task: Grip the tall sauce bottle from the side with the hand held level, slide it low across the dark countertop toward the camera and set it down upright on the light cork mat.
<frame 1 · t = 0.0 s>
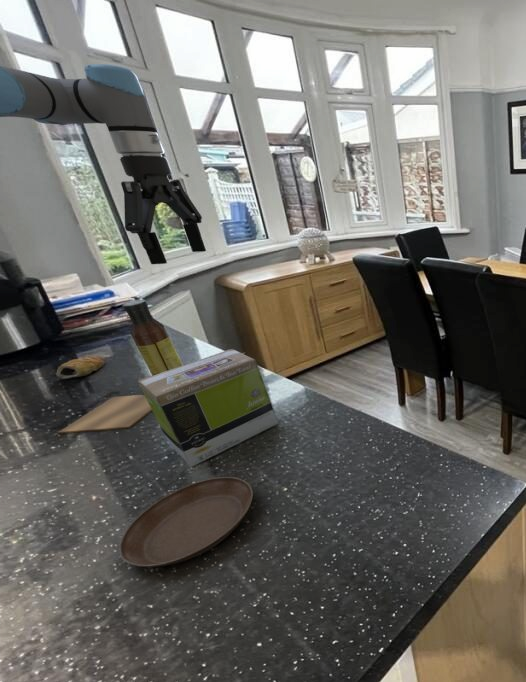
hand: (180, 257, 91), 29 cm above the kitchen counter, tool pointing down, fingers open, 13 cm apart
sauce bottle: (170, 378, 97), on the kitchen counter
cork mat: (121, 412, 84), on the kitchen counter
pastry: (83, 372, 102), on the kitchen counter
saucer: (197, 530, 55), on the kitchen counter
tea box: (227, 437, 75), on the kitchen counter
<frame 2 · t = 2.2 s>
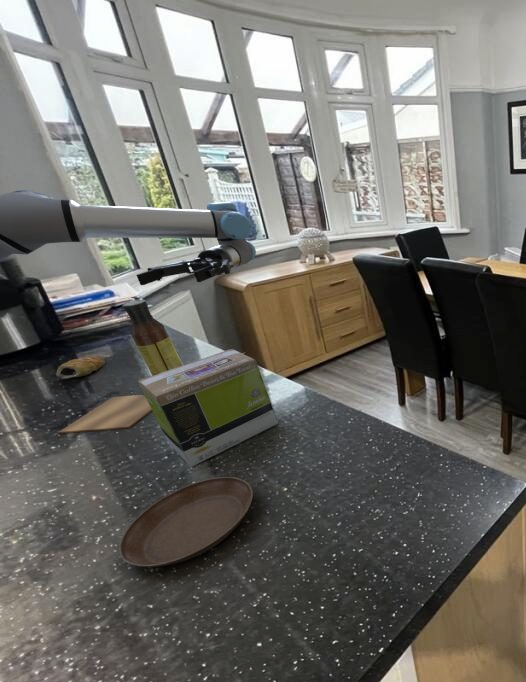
hand: (168, 278, 99), 22 cm above the kitchen counter, tool horizontal, fingers open, 13 cm apart
nothing on the kitchen counter moved.
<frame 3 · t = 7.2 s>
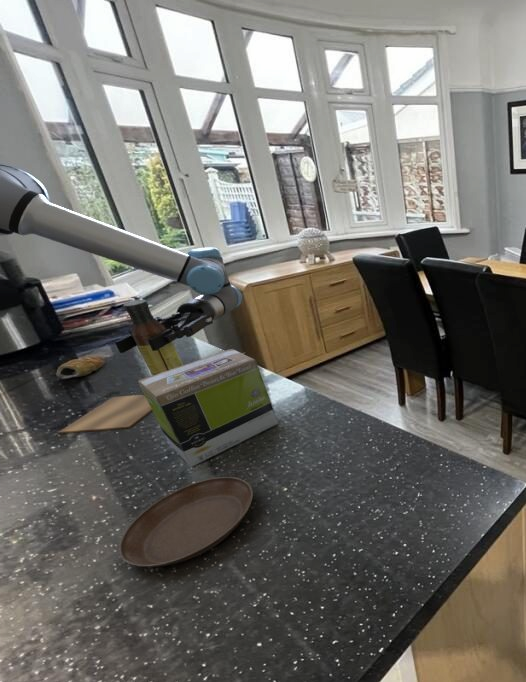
hand: (135, 346, 88), 11 cm above the kitchen counter, tool horizontal, fingers closed on sauce bottle, 6 cm apart
sauce bottle: (170, 378, 97), on the kitchen counter, touching gripper
everything else where it was.
when the fingers open (11 cm above the kitchen counter, at t = 12.6 s): sauce bottle stays where it is, resting on cork mat.
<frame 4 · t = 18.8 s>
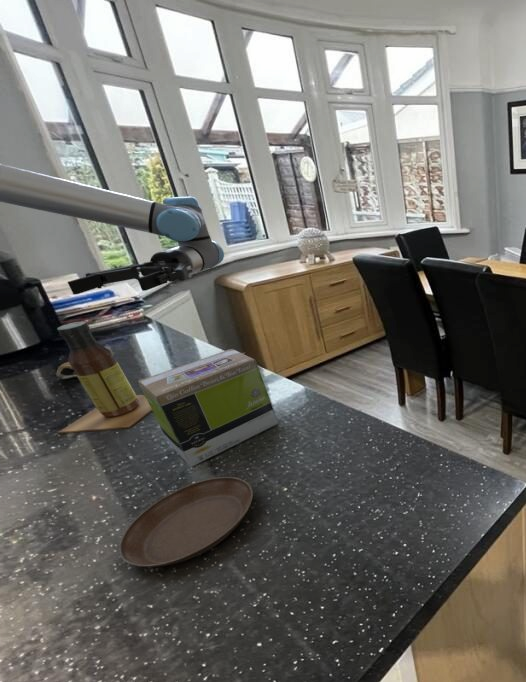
hand: (106, 286, 82), 25 cm above the kitchen counter, tool horizontal, fingers open, 13 cm apart
sauce bottle: (121, 411, 84), resting on cork mat
everything else where it was.
at the end: sauce bottle inside the target area (0.0 cm from its centre), resting on cork mat; sauce bottle tilted 0°; sauce bottle moved 15.0 cm from its start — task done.
